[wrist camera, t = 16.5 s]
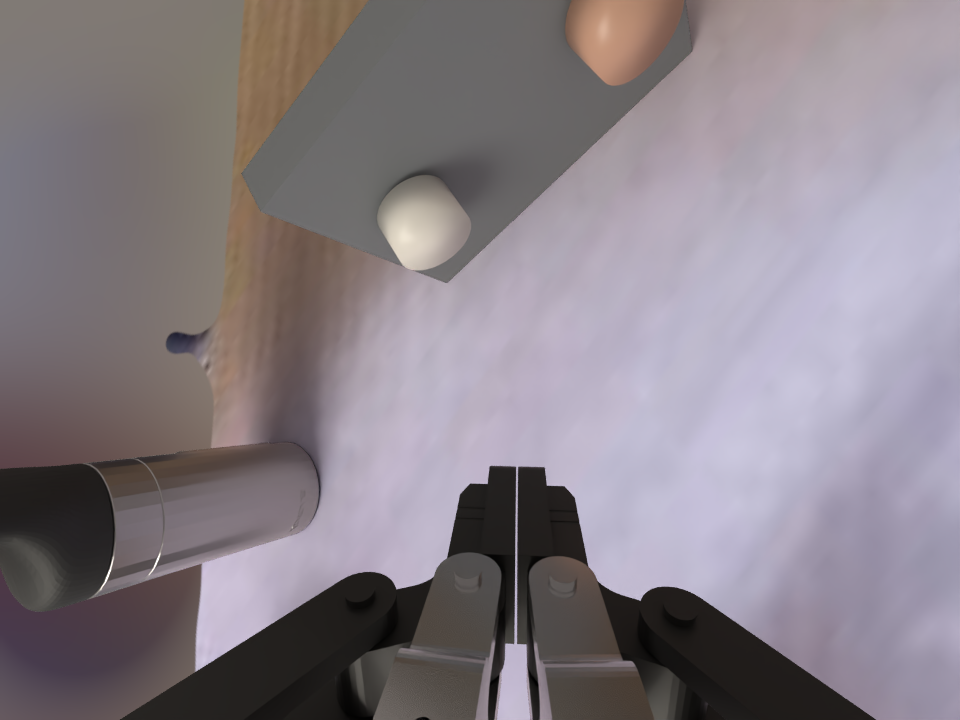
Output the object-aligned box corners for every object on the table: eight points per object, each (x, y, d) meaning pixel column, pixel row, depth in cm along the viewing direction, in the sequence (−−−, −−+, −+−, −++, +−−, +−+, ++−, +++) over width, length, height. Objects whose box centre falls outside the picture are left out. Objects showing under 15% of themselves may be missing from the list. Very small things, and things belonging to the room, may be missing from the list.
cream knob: (484, 226, 30) (441, 197, 26) (431, 277, 32) (382, 258, 28) (410, 123, 34) (362, 83, 29) (366, 175, 35) (314, 144, 31)
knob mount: (692, 51, 32) (648, -283, 16) (446, 283, 40) (260, 211, 25) (617, -16, 35) (517, -354, 19) (402, 214, 43) (209, 110, 27)
